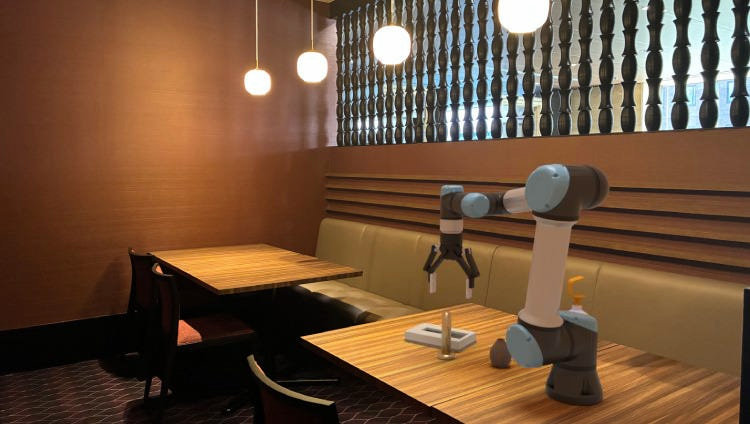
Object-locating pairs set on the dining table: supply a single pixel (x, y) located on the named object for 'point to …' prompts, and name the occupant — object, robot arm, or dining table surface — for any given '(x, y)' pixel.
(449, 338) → the peg
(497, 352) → the vase
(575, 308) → the soap bottle
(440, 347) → the board
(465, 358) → the dining table surface
